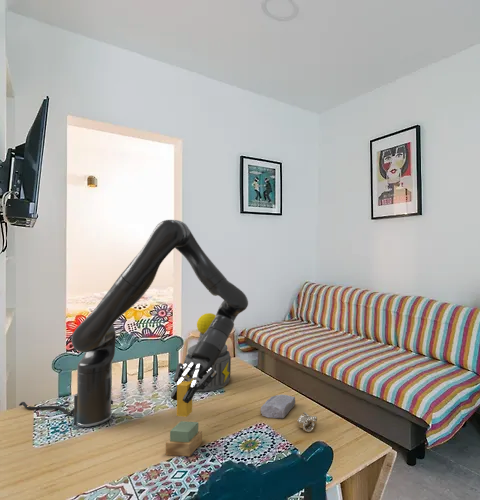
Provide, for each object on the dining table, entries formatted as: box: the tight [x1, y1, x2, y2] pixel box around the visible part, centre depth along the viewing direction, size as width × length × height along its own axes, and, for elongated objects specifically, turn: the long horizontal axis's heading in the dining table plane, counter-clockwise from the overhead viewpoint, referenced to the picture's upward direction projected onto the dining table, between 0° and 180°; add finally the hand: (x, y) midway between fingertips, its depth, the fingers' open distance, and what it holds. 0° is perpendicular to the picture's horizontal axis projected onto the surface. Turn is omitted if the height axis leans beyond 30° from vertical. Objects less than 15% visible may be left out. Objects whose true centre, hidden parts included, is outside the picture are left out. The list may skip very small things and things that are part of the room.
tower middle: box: [169, 420, 199, 442], centre depth 101 cm, size 6×6×3 cm
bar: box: [176, 381, 193, 418], centre depth 101 cm, size 3×3×9 cm
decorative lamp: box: [183, 312, 232, 393], centre depth 148 cm, size 19×19×30 cm
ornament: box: [296, 411, 318, 433], centre depth 115 cm, size 8×7×4 cm
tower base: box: [165, 430, 203, 457], centre depth 101 cm, size 7×7×4 cm
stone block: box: [260, 394, 296, 419], centre depth 126 cm, size 12×5×10 cm
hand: (179, 400), depth 99 cm, fingers closed on bar, 3 cm apart
